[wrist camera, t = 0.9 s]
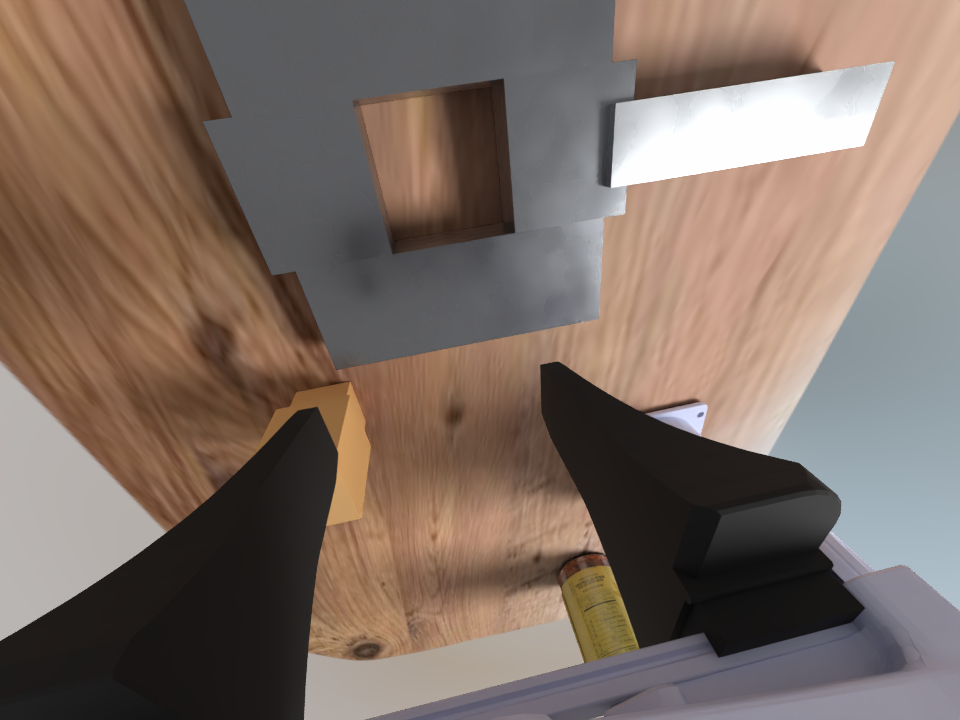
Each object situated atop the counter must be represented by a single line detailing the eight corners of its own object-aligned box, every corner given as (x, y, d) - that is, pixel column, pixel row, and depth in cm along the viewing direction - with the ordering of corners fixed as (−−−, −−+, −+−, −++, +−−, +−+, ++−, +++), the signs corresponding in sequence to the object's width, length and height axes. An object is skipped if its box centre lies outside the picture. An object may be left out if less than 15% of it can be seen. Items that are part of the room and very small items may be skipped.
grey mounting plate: (766, 265, 22) (811, 281, 20) (325, 349, 21) (314, 379, 18) (889, -142, 14) (995, -204, 11) (154, -62, 12) (87, -116, 10)
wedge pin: (373, 424, 24) (361, 518, 18) (312, 437, 24) (279, 536, 18) (354, 374, 22) (333, 462, 16) (286, 387, 21) (239, 482, 16)
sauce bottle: (605, 579, 40) (747, 897, 23) (550, 587, 39) (657, 927, 22) (619, 543, 37) (796, 886, 20) (559, 552, 36) (693, 920, 19)
